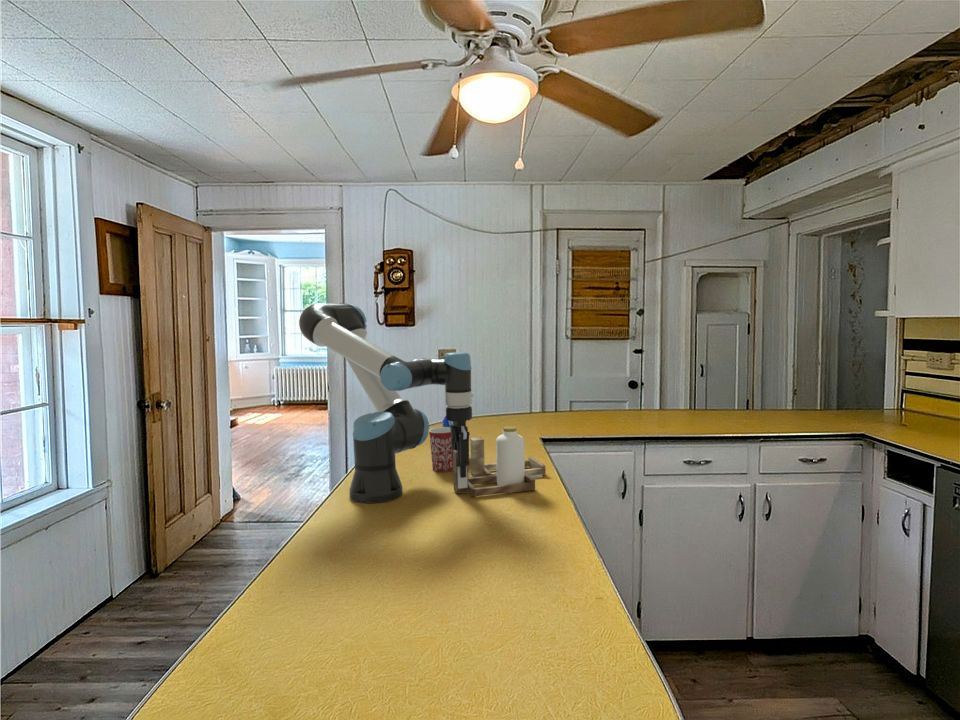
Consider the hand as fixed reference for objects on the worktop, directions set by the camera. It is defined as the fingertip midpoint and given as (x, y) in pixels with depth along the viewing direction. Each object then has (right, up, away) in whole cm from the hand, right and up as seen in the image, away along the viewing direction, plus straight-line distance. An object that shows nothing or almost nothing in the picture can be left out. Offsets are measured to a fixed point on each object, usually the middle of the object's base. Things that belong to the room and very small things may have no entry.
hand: (460, 485), depth 165 cm
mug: (-6, 0, +28) cm, 28 cm away
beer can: (-3, +1, +42) cm, 42 cm away
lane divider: (+18, -1, +12) cm, 21 cm away
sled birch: (+14, 0, +18) cm, 23 cm away
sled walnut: (+9, -1, +3) cm, 10 cm away
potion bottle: (+15, -2, +5) cm, 16 cm away
